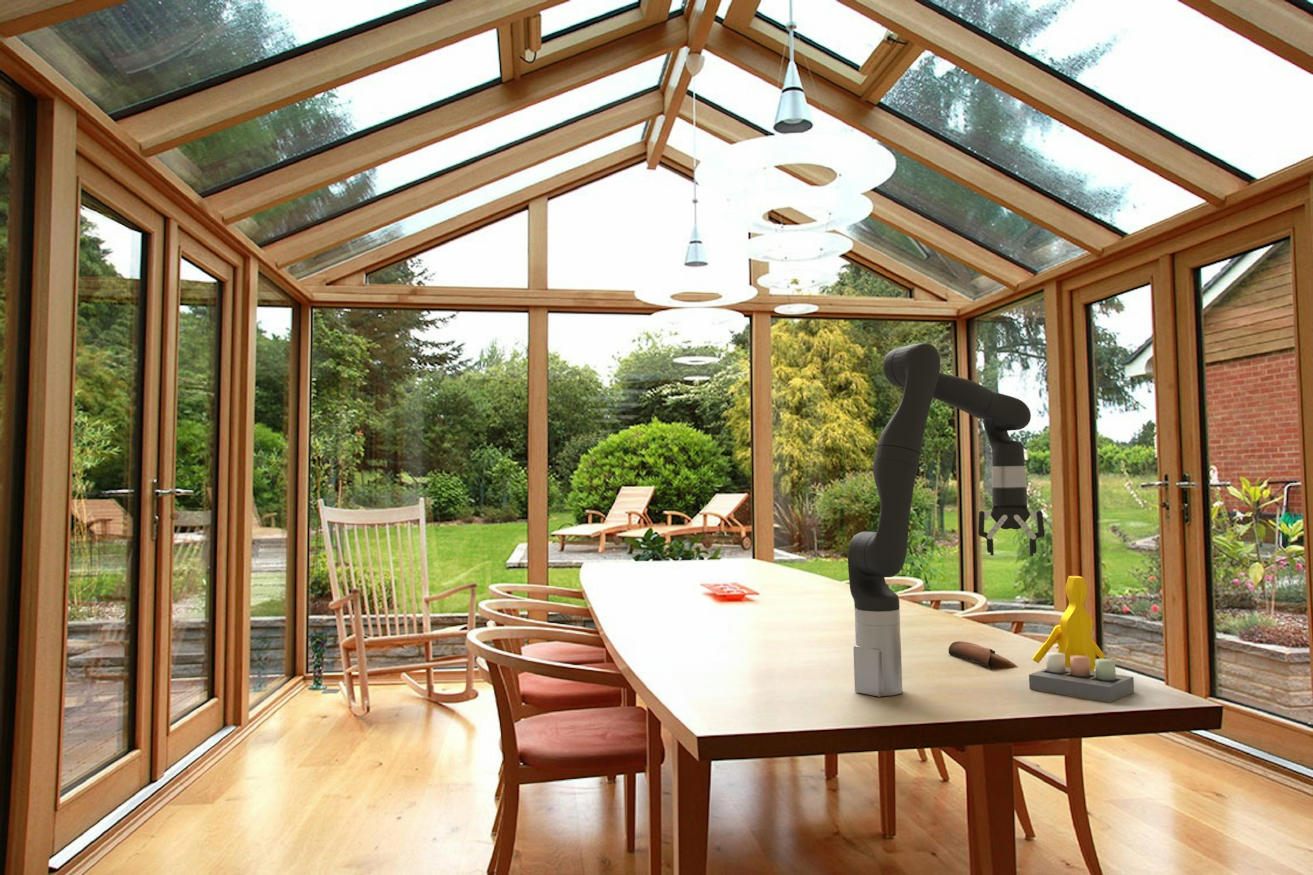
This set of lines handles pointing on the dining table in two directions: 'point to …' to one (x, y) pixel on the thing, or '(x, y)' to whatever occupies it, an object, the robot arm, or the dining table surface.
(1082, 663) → the terracotta button
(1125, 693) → the button box
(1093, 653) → the figure statuette
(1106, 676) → the sage button
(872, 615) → the robot arm
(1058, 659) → the ivory button
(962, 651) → the sunglasses case
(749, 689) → the dining table surface
